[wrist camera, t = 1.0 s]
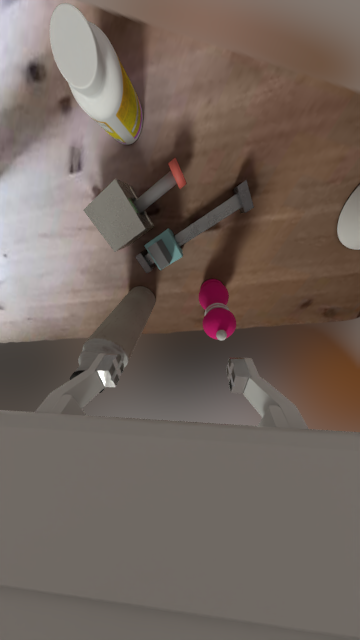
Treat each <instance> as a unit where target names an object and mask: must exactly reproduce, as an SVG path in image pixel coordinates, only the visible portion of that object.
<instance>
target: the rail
mask: <svg viewBox="0 0 360 640" xmlns="http://www.w3.org/2000/svg"><path fill="white" fill-rule="evenodd" d="M233 191H234V194H235V195H234V196H232V197H231V198H230V199H228V200H227V201H225V202H224V203H222V204H221V205H219V206H218V207H216V208H215V209H213V210H212V211H210V212H209V213H207V214H206V215H204V216H203V217H201V218H200V219H198V220H197V221H195V222H194V223H192V224H191V225H189V226H188V227H186V228H185V229H184V230H182V231H181V232H179V233H178V234H176V235H175V236H173V237H174V239H175V240H176V242H177V244H178V246H179V247H180V246H181V245H183V244H185V243H186V242H188V241H189V240H191V239H192V238H194V237H196V236H197V235H199V234H200V233H202V232H203V231H205V230H207V229H208V228H210V227H211V226H213V225H215V224H216V223H218V222H219V221H221V220H222V219H224V218H226V217H227V216H229V215H230V214H232V213H233V212H235V211H237V210H238V209H239V210H240V213H246V212H247V211H249V210H250V209H252V208H254V206H253V203H252V199H251V195H250V192H249V188H248V184H247V180H246V181H244V182H243V183H241V184H240V185H238V186H237V187H236V188H234V189H233ZM136 259H137V260H138V262H139V263H140V265H141V266H142V267H143V269H144V270H145V272H146V273H148V272H150V271H152V270H153V268H154V267H155V265H154V263H155V262H154V260H153V259H152V257H151V256H150V254H149V253H148V254H147V253H146V251H145V250H144V251H143V252H141V253H140V254H138V255H137V256H136Z"/></svg>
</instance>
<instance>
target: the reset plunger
mask: <svg viewBox="0 0 360 640" xmlns="http://www.w3.org/2000/svg"><path fill="white" fill-rule="evenodd" d="M168 164H169V167H170V169H171V170H170V171H169V172H168V173H167V174H166V175H165V176H164V177H162V178H161V179H160V180H159V181H158V182H157V183H155V184H154V185H153V186H152V187H151V188H150V189H148V190H147V191H146V192H145V193H144V194H143V195H141V196H140V197H139V198H138V199H137V200H136V201H134V204H135V205H136V207H137V209H138V210H139V212H140V213H141V212H143V211H144V210H145V209H146V208H147V207H149V206H150V205H151V204H152V203H154V202H155V201H156V200H157V199H159V198H160V197H161V196H162V195H164V194H165V193H166V192H167V191H168V190H170V189H171V188H172V187H173V186H175V185H176V184H178V187H179V189H181V188H182V187H183V186H184V185H186V181H185V179H184V176H183V174H182V171H181V169H180V167H179V164H178V162H177V160H176V158H174V159H173V160H172V161H170V162H169V163H168Z"/></svg>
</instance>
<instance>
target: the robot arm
mask: <svg viewBox="0 0 360 640" xmlns="http://www.w3.org/2000/svg"><path fill="white" fill-rule="evenodd" d="M337 232H338V237H339V240H340V241H341V243H342V244H343V245H344V246H346V247H348V248H350V249H355V250H360V185H359V186H358V187H357V188H356V189H355V191H354V192H353V193H352V195H351V196H350V197H349V199H348V200H347V202H346V204H345V205H344V207H343V209H342V212H341V214H340V217H339V221H338V226H337ZM121 358H122V357H121V355H120V354H105V353H100V354H98V356H97V357H96V359H95V360H94V362H93V363H92V364H91V366H90V367H89V369H88V370H87V371H84V372H82V373H81V374H79V375H78V376H76V377H74V378H73V379H71V380H70V381H68V382H67V383H65V384H64V385H62V386H61V387H59V388H57V389H56V390H54V391H53V392H51V393H50V394H49V395H48V396H47V398H46V399H45V400H44V401H43V403H42V404H41V405H40V406H39V408H38V409H37V410H36V411H35V412H23V411H6V410H0V640H360V433H359V432H345V431H344V432H343V431H328V430H312V429H308V427H307V425H306V423H305V422H304V420H303V418H302V416H301V414H300V412H299V411H298V409H297V407H296V406H295V405H294V404H293V403H291V402H290V401H289V400H288V399H287V398H286V397H284V396H283V395H282V394H281V393H280V392H279V391H277V390H276V389H275V388H274V387H273V386H271V385H270V384H269V383H268V382H267V381H265V380H264V379H263V378H260V377H259V374H258V372H257V370H256V367H255V365H254V363H253V360H252V359H251V358H229V360H228V363H229V364H228V365H227V378H228V379H229V380H230V381H229V387H230V391H231V393H242V394H243V395H244V396H245V397H246V398H247V399H248V401H249V402H250V403H251V404H252V405H253V407H254V408H255V409H256V410H257V411H258V413H259V414H260V415H261V416H262V420H261V421H260V423H259V425H258V426H248V425H231V424H214V423H198V422H183V421H167V420H150V419H135V418H119V417H103V416H102V417H101V416H87V415H86V414H85V412H84V411H83V410H82V408H83V407H84V406H85V405H86V404H87V403H88V402H90V400H92V399H93V398H94V397H95V396H96V395H97V394H98V393H99V392H100V391H101V390H102V389H104V388H105V387H116V385H117V383H118V381H119V376H120V375H121V374H122V372H123V369H124V363H123V361H122V360H121Z"/></svg>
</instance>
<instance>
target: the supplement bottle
mask: <svg viewBox="0 0 360 640" xmlns="http://www.w3.org/2000/svg"><path fill="white" fill-rule="evenodd" d="M50 42H51V48H52V52H53V55H54V58H55V61H56V63H57V66H58V68H59V70H60V71H61V73H62V75H63V76H64V78H65V79H66V80H67V81H68V83H69V86H70V89H71V91H72V93H73V95H74V97H75V99H76V101H77V102H78V104H79V105H80V106H81V108H82V109H83V110H84V111H85V112H86V113H87V114H88V115H89V116H90V117H91V118H92V119H93V120H94V121H96V122H97V123H98V124H99V125H100V126H101V127H102V128H103V129H104V130H105V131H106V132H108V133H109V134H110V135H111V136H112V137H113V138H114V139H115V140H116V141H118V142H119V143H121V144H125V145H129V144H132V143H134V142H135V141H136V140H137V139H138V137H139V135H140V133H141V130H142V124H143V114H142V108H141V104H140V101H139V98H138V96H137V94H136V92H135V90H134V88H133V86H132V84H131V82H130V80H129V78H128V76H127V74H126V72H125V70H124V68H123V66H122V64H121V62H120V60H119V58H118V56H117V54H116V52H115V50H114V48H113V46H112V44H111V43H110V41H109V39H108V38H107V36H106V35H105V34H104V33H103V31H102V30H101V29H100V28H99V27H97V26H96V25H95V24H93V23H91V22H89V21H87V20H86V18H85V17H84V15H83V14H82V13H81V12H80V11H79V10H78V9H77V8H76V7H75V6H73V5H71V4H68V3H62V4H60V5H58V6H57V7H56V8H55V10H54V12H53V14H52V17H51V21H50Z"/></svg>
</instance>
